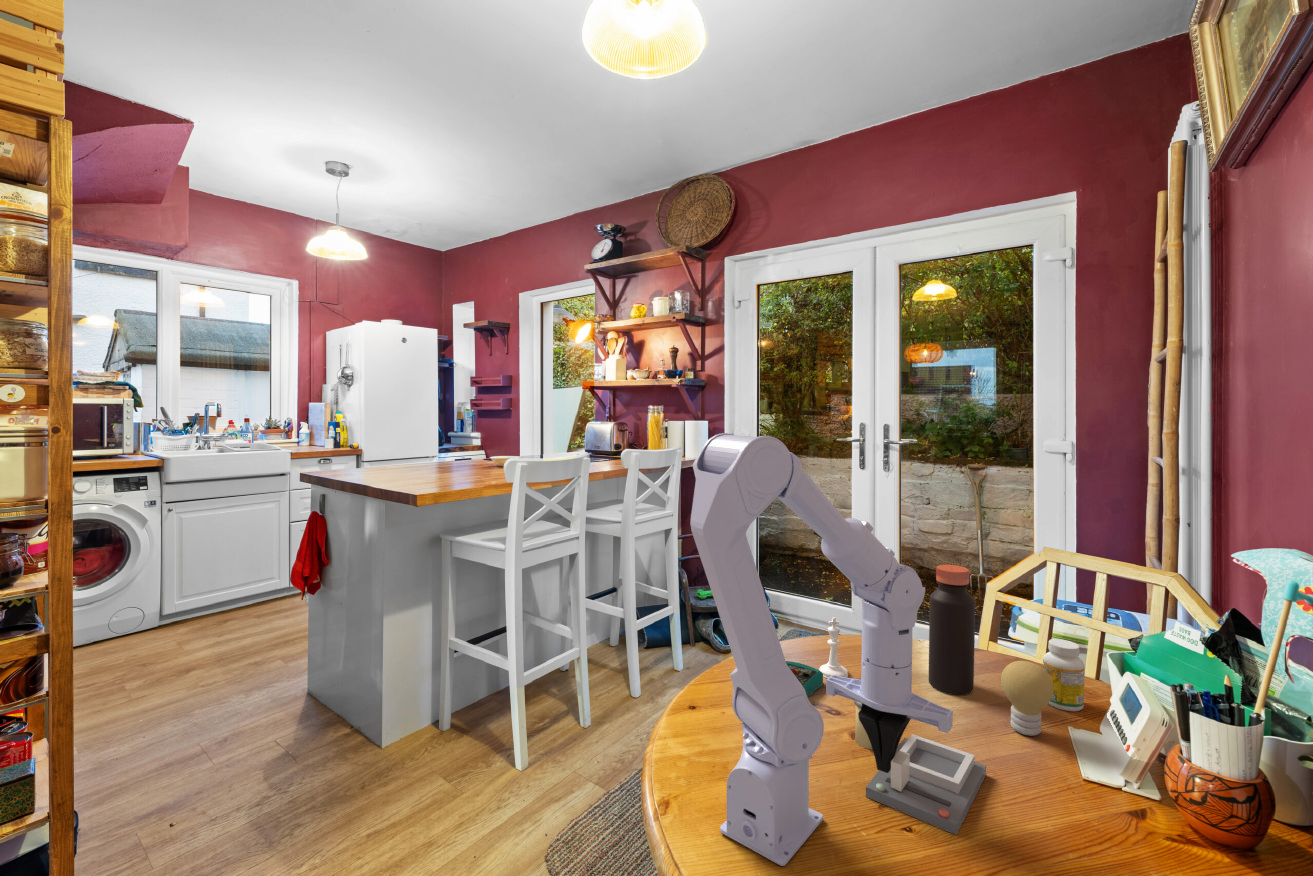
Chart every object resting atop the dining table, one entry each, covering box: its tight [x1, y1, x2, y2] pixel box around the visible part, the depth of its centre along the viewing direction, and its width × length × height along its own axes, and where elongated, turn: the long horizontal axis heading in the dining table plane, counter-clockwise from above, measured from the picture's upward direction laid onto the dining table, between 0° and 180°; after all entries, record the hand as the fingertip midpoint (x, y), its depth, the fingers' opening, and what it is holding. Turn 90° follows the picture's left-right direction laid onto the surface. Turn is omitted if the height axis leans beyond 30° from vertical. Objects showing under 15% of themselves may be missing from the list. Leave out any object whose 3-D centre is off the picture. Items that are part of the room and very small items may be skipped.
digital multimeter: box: [785, 660, 824, 698], centre depth 97 cm, size 8×15×3 cm, turn 143°
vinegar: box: [928, 564, 976, 696], centre depth 98 cm, size 7×7×20 cm
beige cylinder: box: [853, 700, 873, 751], centre depth 82 cm, size 4×4×6 cm
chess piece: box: [818, 616, 849, 679], centre depth 104 cm, size 5×5×10 cm
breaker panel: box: [865, 733, 987, 836], centre depth 73 cm, size 14×10×2 cm
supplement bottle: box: [1042, 638, 1086, 712], centre depth 93 cm, size 5×5×10 cm
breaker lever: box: [891, 750, 910, 791], centre depth 71 cm, size 3×1×3 cm, turn 139°
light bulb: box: [1000, 660, 1053, 737], centre depth 85 cm, size 6×6×10 cm
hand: (885, 767), depth 72 cm, fingers closed
